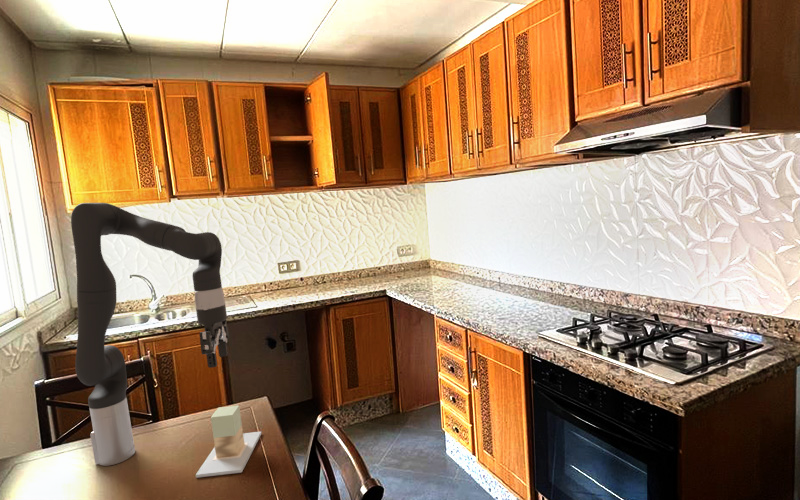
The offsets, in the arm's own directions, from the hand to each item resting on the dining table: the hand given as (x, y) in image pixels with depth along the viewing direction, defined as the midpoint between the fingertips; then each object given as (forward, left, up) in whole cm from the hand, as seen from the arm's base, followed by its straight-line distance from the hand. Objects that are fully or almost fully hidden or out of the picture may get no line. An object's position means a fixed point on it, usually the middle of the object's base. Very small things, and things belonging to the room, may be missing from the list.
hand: (218, 361), depth 125 cm
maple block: (0, 0, -27) cm, 27 cm away
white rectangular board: (0, 0, -28) cm, 28 cm away
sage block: (0, 0, -21) cm, 21 cm away
